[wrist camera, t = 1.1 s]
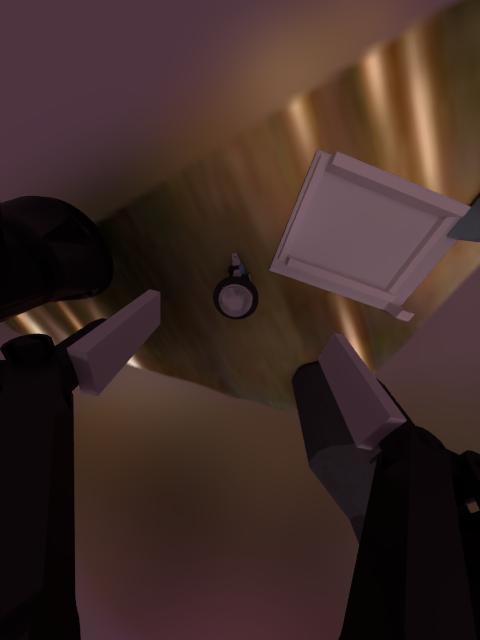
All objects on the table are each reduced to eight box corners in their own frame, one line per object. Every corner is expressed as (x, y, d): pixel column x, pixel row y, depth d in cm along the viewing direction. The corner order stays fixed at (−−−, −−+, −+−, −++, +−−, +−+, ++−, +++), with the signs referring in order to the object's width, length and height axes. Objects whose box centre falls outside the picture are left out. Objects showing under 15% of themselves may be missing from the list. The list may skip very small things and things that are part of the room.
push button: (218, 256, 28) (200, 273, 19) (252, 247, 27) (250, 261, 18) (230, 295, 31) (219, 326, 22) (261, 289, 30) (262, 319, 21)
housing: (269, 269, 28) (270, 275, 25) (316, 150, 21) (326, 139, 18) (392, 312, 30) (407, 323, 27) (475, 215, 23) (507, 215, 20)
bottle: (297, 398, 42) (362, 696, 16) (286, 367, 38) (350, 705, 12) (345, 389, 39) (518, 730, 13) (339, 355, 35) (575, 756, 9)
